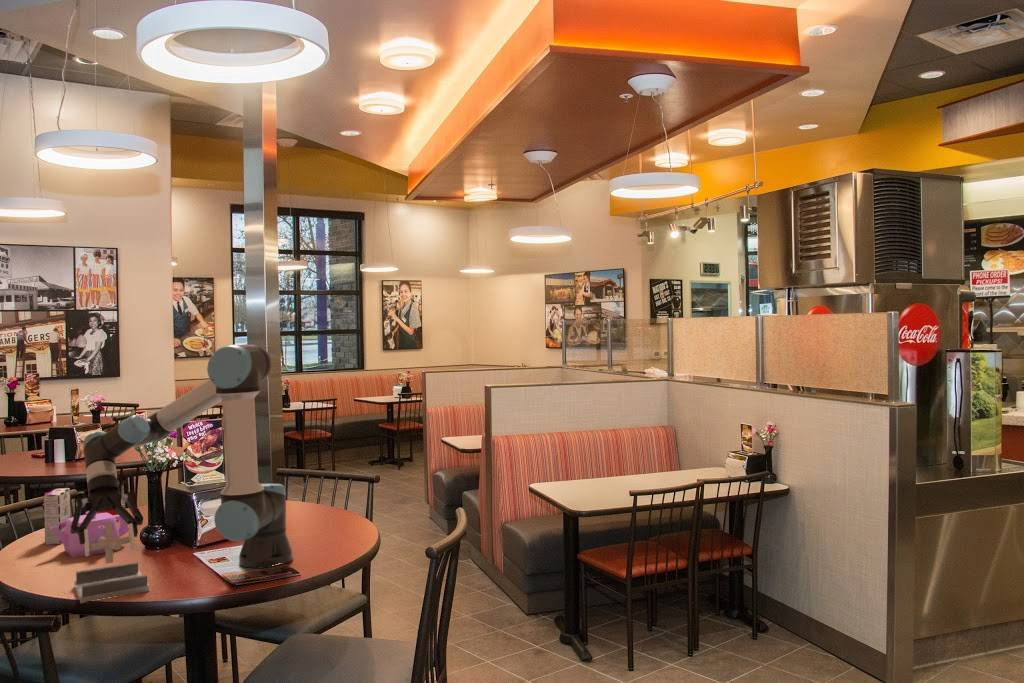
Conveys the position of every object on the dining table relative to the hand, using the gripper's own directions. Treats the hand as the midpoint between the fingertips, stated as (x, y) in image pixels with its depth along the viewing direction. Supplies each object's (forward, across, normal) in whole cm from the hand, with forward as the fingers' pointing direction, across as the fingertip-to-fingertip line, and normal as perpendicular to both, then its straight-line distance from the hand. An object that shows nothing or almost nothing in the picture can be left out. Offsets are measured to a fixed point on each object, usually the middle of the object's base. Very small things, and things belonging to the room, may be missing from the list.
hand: (110, 550), depth 203 cm
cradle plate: (+6, 0, -10) cm, 11 cm away
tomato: (-55, -10, -72) cm, 91 cm away
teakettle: (-26, 0, -42) cm, 50 cm away
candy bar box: (-40, +7, -57) cm, 70 cm away
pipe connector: (+1, 0, -5) cm, 5 cm away
